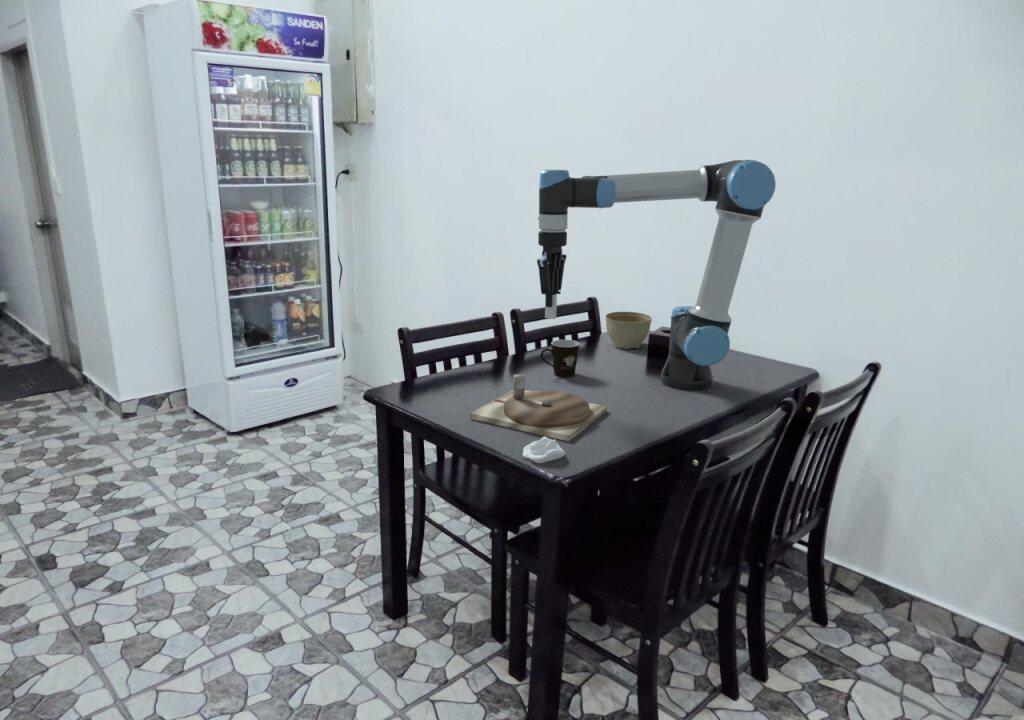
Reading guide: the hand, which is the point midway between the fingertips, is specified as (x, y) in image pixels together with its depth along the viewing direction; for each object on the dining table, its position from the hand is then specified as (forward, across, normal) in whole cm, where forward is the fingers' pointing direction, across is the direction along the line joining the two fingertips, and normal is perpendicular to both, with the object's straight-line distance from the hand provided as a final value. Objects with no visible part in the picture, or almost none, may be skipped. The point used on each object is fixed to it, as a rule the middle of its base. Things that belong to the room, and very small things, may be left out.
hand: (550, 317), depth 185 cm
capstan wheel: (+21, +15, +7) cm, 27 cm away
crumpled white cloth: (+23, +36, +18) cm, 46 cm away
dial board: (+22, +15, +5) cm, 27 cm away
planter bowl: (+23, -61, 0) cm, 65 cm away
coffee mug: (+23, -19, -6) cm, 30 cm away
